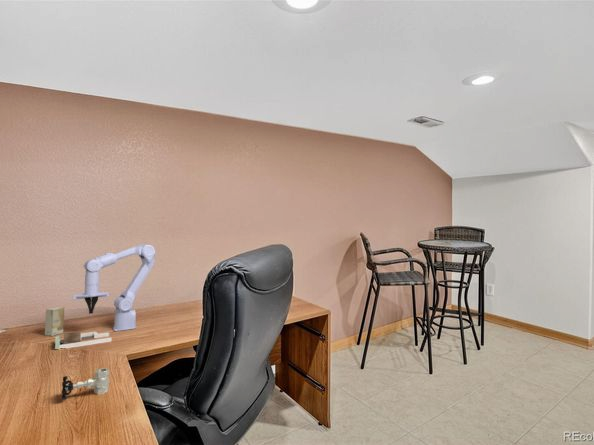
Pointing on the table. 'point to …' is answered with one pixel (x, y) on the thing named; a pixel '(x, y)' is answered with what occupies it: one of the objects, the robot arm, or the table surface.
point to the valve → (88, 383)
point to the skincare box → (54, 321)
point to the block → (72, 337)
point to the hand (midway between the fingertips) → (90, 313)
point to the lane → (84, 336)
